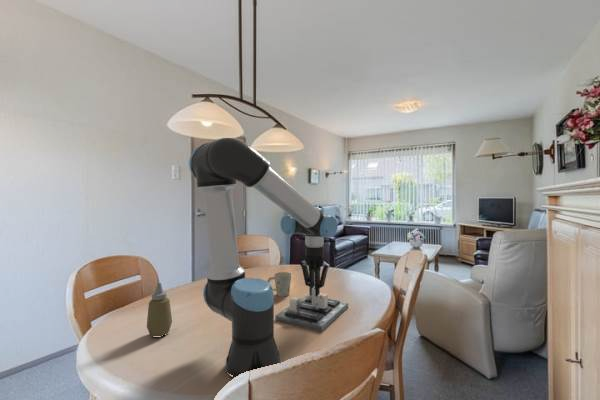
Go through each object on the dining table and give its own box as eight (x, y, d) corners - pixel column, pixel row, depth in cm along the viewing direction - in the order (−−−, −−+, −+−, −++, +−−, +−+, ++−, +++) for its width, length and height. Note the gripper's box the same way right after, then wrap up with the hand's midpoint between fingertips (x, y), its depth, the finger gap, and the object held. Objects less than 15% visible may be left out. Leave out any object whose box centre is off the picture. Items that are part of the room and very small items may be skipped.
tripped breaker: (324, 309, 115) (324, 296, 115) (317, 307, 116) (317, 294, 116) (327, 306, 117) (327, 293, 117) (321, 305, 119) (320, 292, 119)
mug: (289, 298, 138) (289, 276, 138) (263, 296, 140) (263, 275, 140) (293, 292, 146) (293, 272, 146) (269, 291, 148) (268, 271, 148)
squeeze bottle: (165, 327, 108) (165, 278, 107) (176, 333, 102) (176, 282, 102) (142, 335, 101) (141, 283, 101) (153, 342, 96) (152, 288, 96)
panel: (322, 331, 103) (321, 309, 102) (275, 320, 113) (275, 299, 112) (348, 307, 125) (348, 288, 125) (307, 299, 135) (307, 282, 135)
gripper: (332, 245, 118) (333, 303, 118) (305, 243, 125) (305, 298, 125) (325, 248, 112) (325, 309, 112) (296, 246, 118) (296, 303, 118)
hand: (314, 303), depth 118 cm, fingers closed
